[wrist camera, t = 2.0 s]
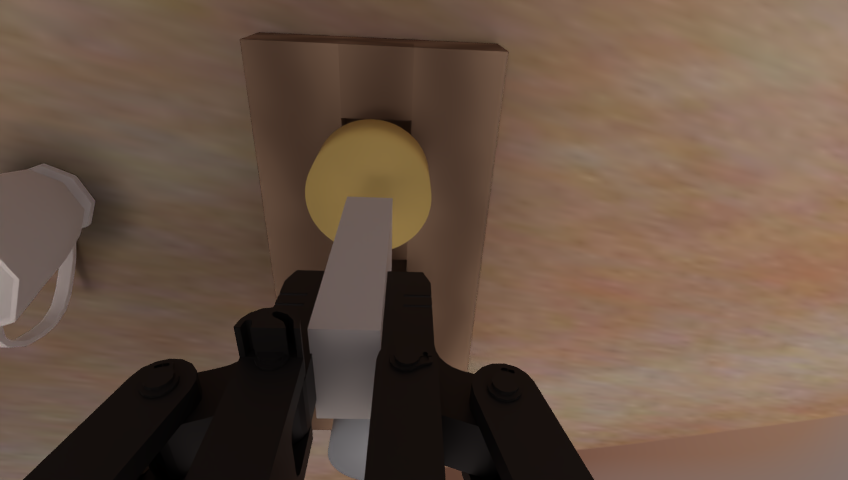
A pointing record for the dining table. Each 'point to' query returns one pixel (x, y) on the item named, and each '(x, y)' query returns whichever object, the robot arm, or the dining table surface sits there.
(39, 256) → the cup
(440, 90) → the panel
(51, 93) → the dining table surface
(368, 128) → the mustard button
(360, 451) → the slate button
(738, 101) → the dining table surface
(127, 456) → the robot arm
